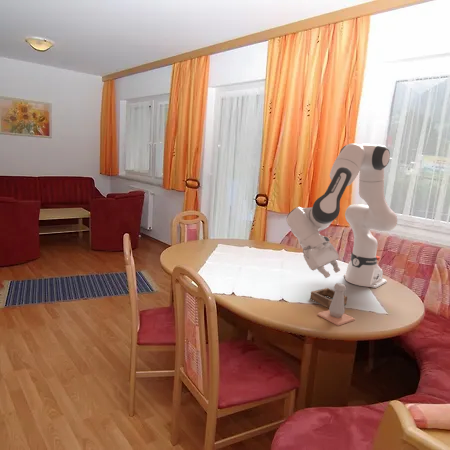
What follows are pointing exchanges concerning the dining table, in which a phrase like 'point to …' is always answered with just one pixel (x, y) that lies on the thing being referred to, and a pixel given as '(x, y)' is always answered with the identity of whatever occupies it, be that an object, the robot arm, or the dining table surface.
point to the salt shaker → (338, 301)
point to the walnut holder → (320, 296)
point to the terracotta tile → (337, 321)
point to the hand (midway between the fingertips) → (333, 274)
